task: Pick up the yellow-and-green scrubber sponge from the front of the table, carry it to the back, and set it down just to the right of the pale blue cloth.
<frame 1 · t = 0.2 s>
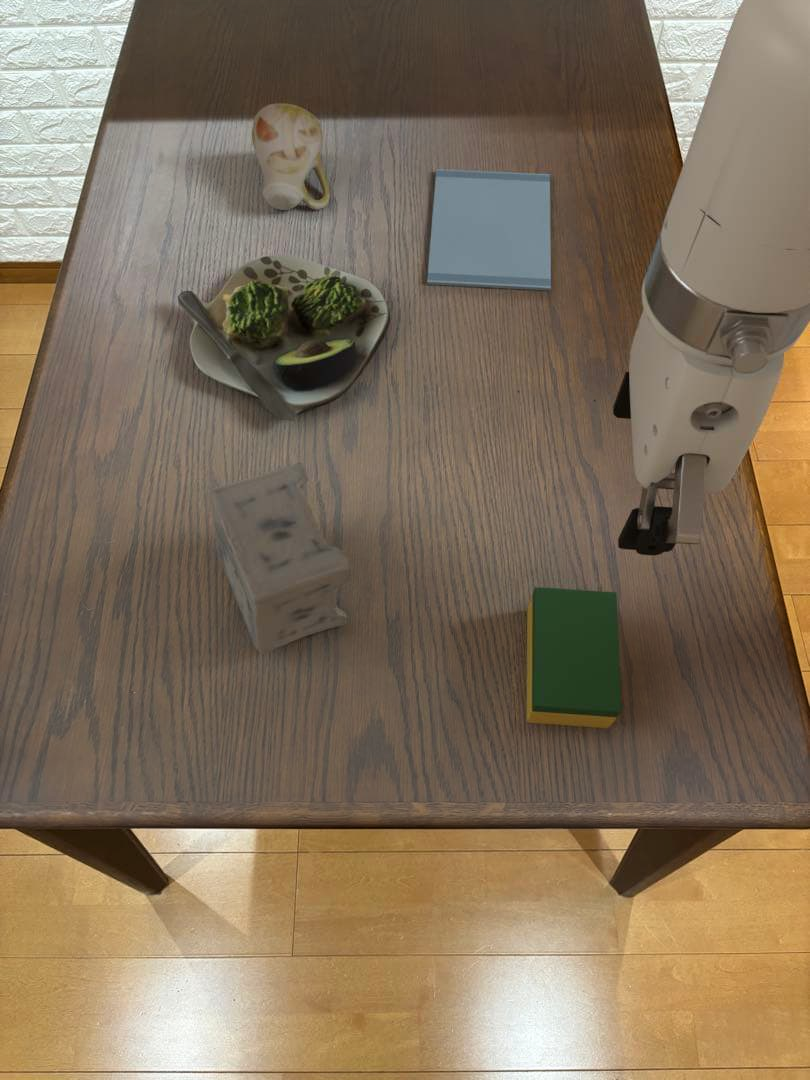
hand: (639, 477, 52), 16 cm above the table, tool pointing down, fingers open, 9 cm apart
incense holder: (289, 589, 66), on the table
salad plate: (294, 343, 77), on the table
scrubber: (566, 667, 63), on the table
mug: (292, 186, 87), on the table
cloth: (490, 228, 84), on the table
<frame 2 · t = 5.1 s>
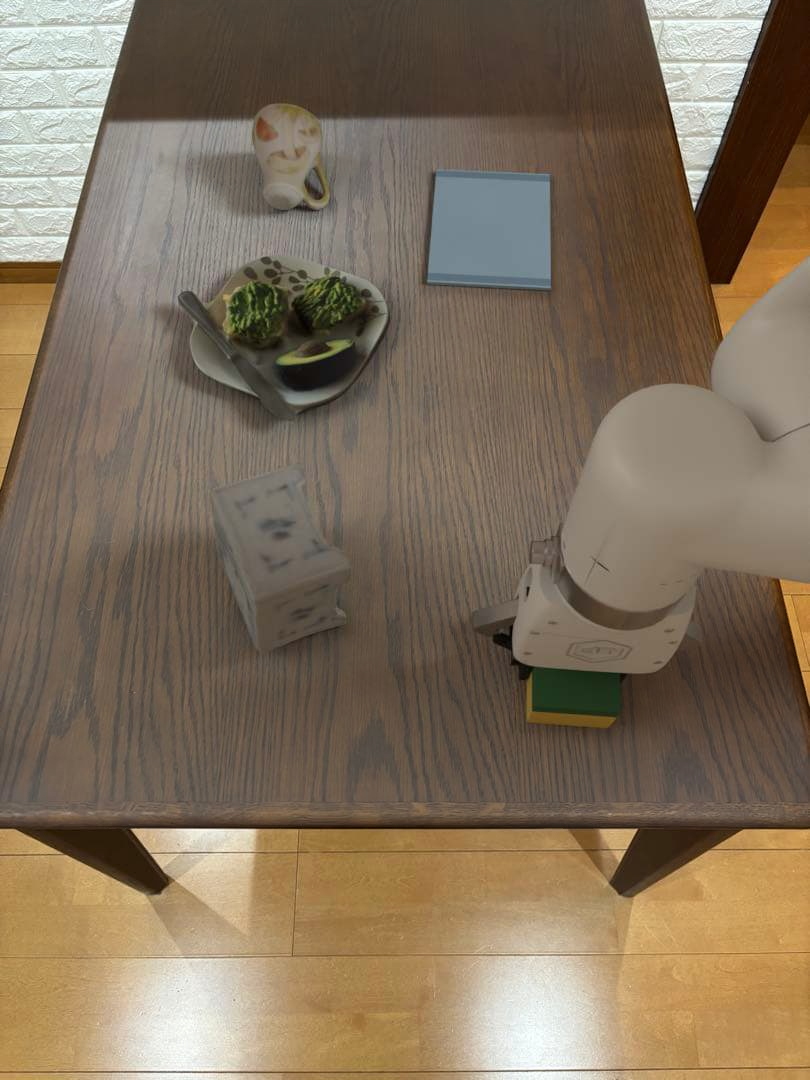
hand: (568, 663, 62), 1 cm above the table, tool pointing down, fingers closed on scrubber, 6 cm apart
scrubber: (566, 667, 63), on the table, touching gripper
everything else where it was.
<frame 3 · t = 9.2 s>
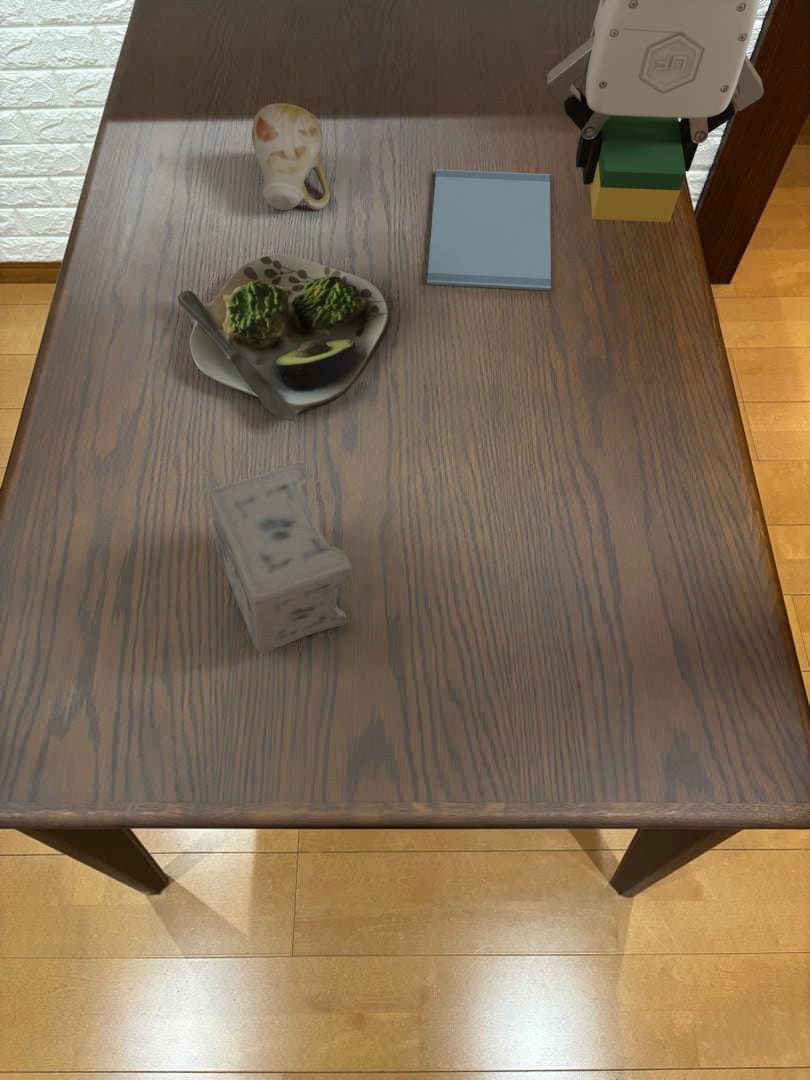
hand: (629, 172, 66), 15 cm above the table, tool pointing down, fingers closed on scrubber, 6 cm apart
scrubber: (626, 181, 67), point 14 cm above the table, touching gripper
everything else where it was.
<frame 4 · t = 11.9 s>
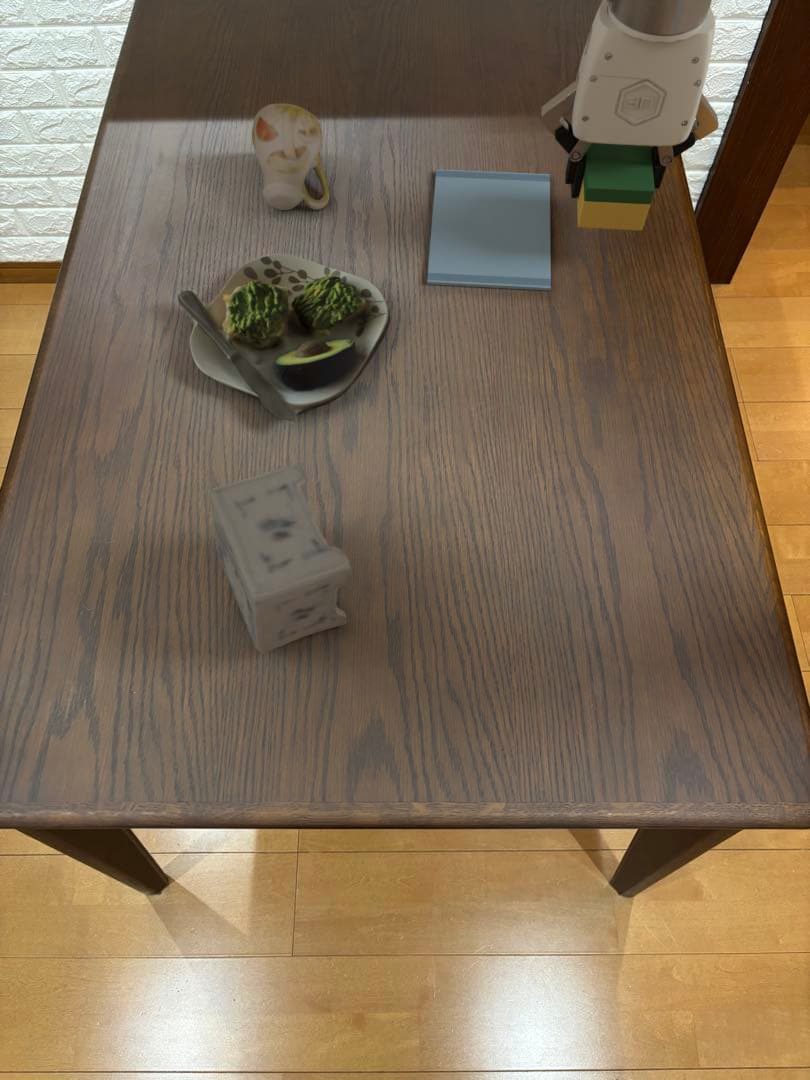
hand: (610, 188, 79), 5 cm above the table, tool pointing down, fingers closed on scrubber, 6 cm apart
scrubber: (608, 195, 79), point 5 cm above the table, touching gripper
everything else where it was.
when the fingers open (1 cm above the table, at t = 13.6 s): scrubber stays where it is, on the table.
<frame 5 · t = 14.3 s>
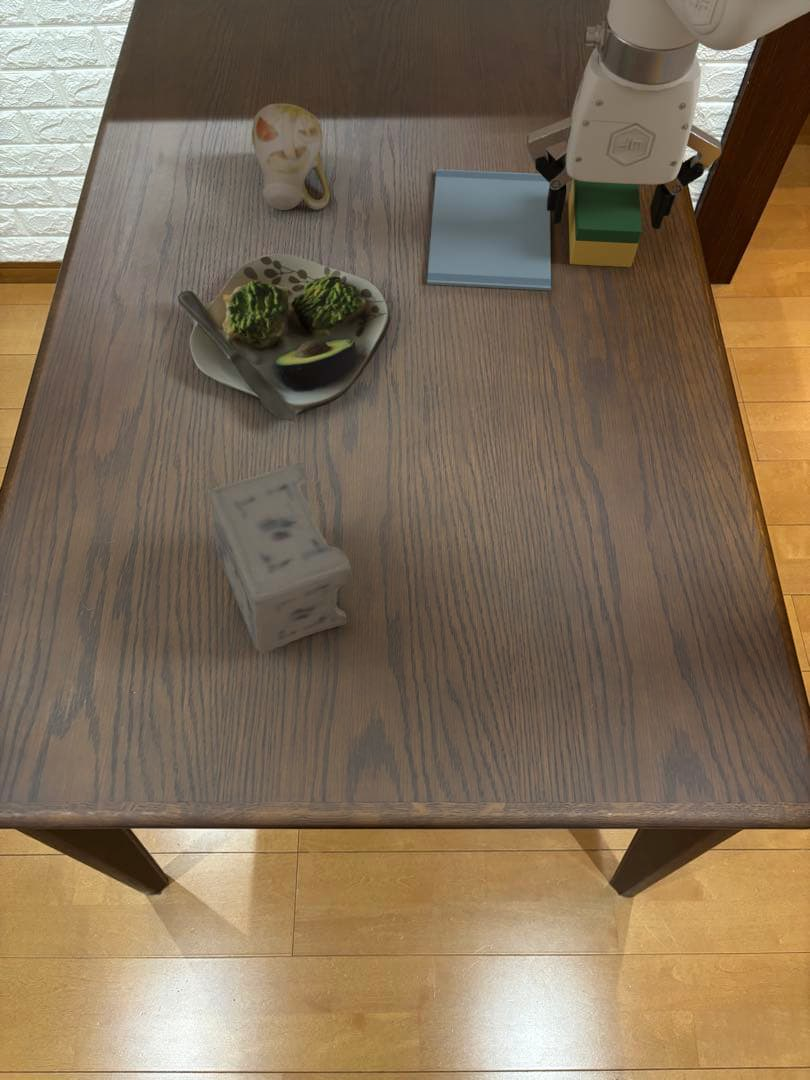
hand: (605, 216, 81), 2 cm above the table, tool pointing down, fingers open, 9 cm apart
scrubber: (598, 233, 83), on the table
everything else where it was.
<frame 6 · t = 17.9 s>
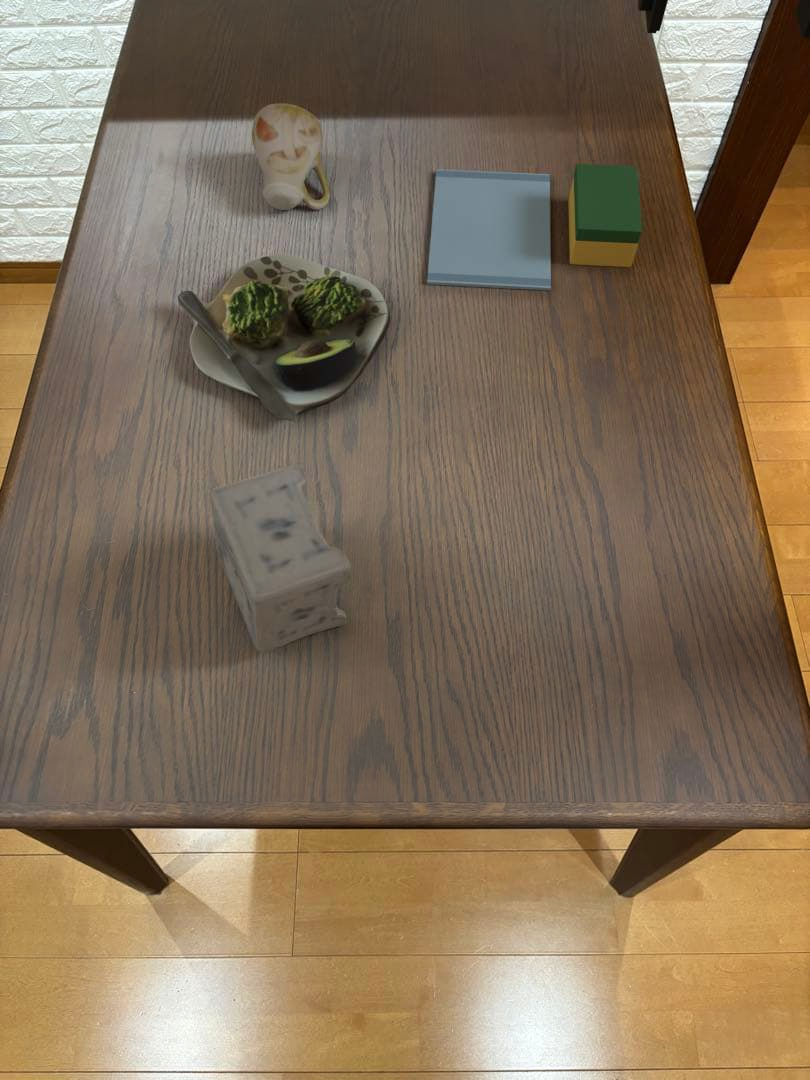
hand: (727, 23, 53), 28 cm above the table, tool pointing down, fingers open, 9 cm apart
nothing on the table moved.
at the end: scrubber inside the target area on the table beside the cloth (1.9 cm from its centre), on the table; scrubber tilted 0°; the gripper is holding nothing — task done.
